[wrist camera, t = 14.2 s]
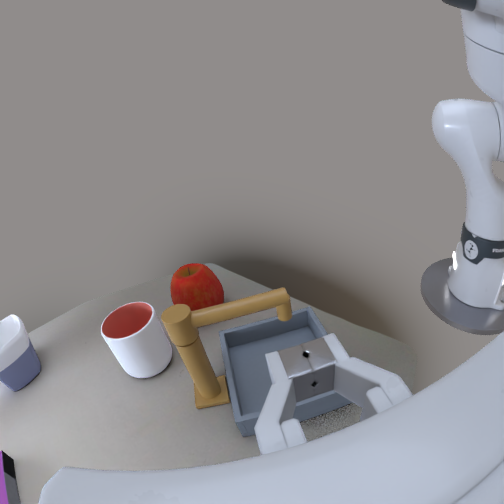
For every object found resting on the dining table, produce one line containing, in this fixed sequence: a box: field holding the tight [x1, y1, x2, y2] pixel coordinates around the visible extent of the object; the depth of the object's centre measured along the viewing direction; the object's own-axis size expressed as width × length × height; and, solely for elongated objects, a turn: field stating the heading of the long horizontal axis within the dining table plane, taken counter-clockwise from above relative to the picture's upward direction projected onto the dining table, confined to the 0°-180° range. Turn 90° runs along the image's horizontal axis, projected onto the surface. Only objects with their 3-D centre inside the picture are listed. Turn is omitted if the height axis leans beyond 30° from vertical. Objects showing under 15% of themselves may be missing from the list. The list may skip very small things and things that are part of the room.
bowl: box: [0, 314, 41, 391], centre depth 41 cm, size 15×15×11 cm
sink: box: [219, 307, 353, 437], centre depth 38 cm, size 16×18×4 cm
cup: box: [101, 302, 172, 378], centre depth 44 cm, size 10×10×10 cm
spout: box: [161, 287, 292, 346], centre depth 33 cm, size 15×4×5 cm, turn 102°
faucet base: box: [175, 335, 230, 409], centre depth 35 cm, size 5×5×12 cm
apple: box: [171, 264, 224, 311], centre depth 55 cm, size 11×11×11 cm
